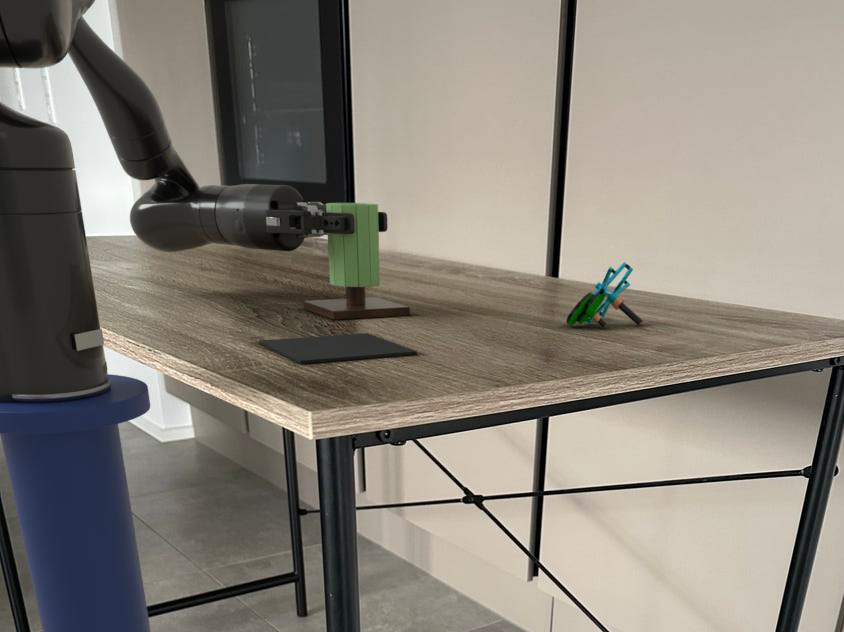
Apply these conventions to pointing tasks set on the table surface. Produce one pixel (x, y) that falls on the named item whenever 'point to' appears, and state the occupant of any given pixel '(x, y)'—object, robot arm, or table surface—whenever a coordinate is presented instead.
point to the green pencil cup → (355, 247)
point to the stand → (356, 306)
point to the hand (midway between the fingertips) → (369, 223)
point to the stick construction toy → (593, 300)
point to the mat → (336, 348)
